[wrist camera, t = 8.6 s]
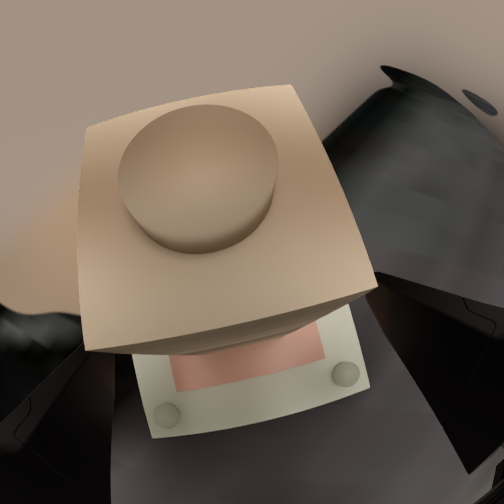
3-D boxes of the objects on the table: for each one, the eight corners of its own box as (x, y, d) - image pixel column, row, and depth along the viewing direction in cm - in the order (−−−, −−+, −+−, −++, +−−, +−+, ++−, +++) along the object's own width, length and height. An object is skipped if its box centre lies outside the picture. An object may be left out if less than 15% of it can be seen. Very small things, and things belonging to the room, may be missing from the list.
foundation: (365, 386, 19) (388, 391, 16) (156, 435, 18) (138, 449, 14) (308, 197, 25) (318, 170, 21) (122, 237, 23) (102, 217, 19)
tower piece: (283, 336, 17) (400, 273, 4) (200, 355, 16) (59, 347, 3) (262, 257, 18) (295, 58, 5) (183, 275, 18) (74, 105, 5)
